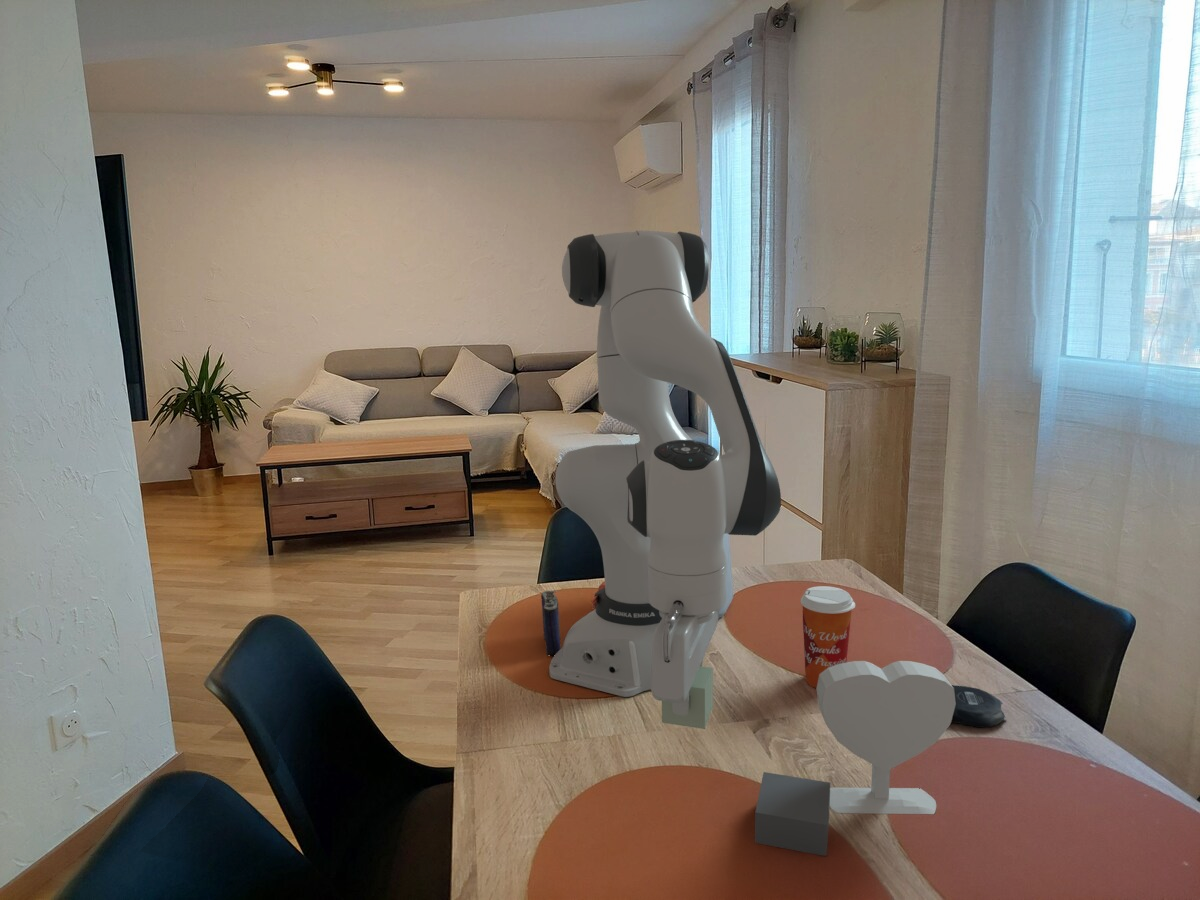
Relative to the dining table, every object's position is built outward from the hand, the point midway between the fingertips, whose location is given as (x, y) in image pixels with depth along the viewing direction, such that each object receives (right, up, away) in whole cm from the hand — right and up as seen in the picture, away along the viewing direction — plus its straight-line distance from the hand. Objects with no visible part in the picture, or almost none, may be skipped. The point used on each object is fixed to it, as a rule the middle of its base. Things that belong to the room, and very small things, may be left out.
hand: (687, 697), depth 92 cm
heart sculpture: (+25, -15, +7) cm, 30 cm away
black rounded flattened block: (+42, -11, +27) cm, 51 cm away
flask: (-19, -7, +52) cm, 56 cm away
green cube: (0, -2, 0) cm, 2 cm away
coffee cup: (+26, -9, +36) cm, 46 cm away
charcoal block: (+13, -16, +2) cm, 21 cm away
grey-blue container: (+9, -3, +68) cm, 68 cm away
